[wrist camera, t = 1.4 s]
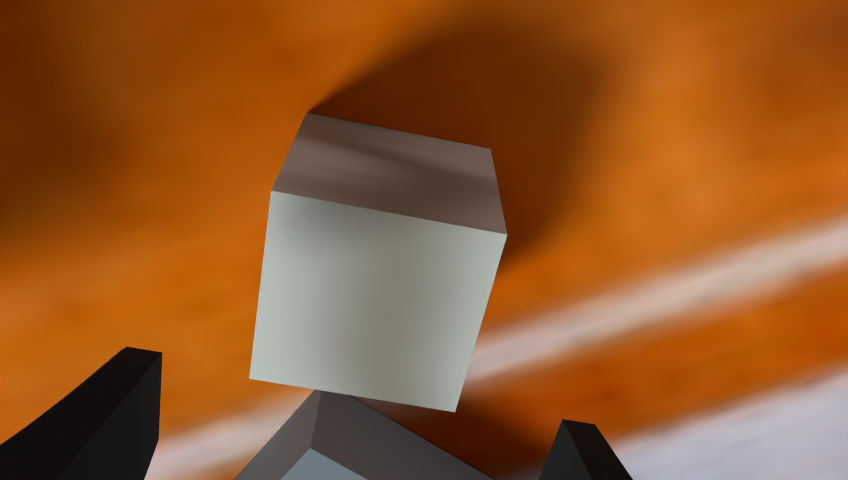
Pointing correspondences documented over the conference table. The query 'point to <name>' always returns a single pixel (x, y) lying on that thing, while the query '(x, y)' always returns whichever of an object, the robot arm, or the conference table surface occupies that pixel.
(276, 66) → the conference table surface
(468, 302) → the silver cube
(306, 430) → the blue-gray box
